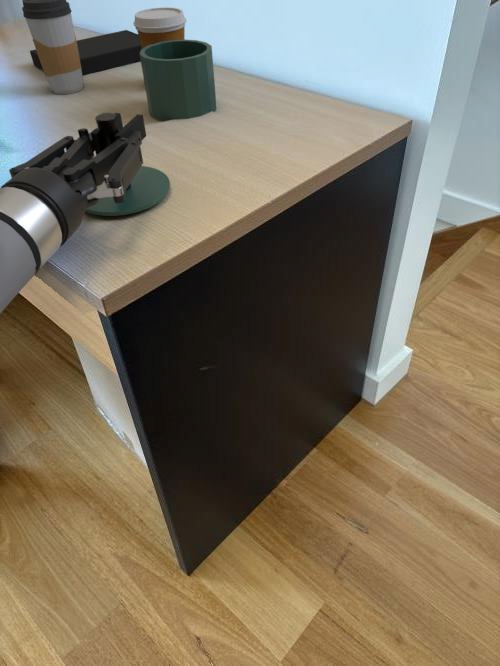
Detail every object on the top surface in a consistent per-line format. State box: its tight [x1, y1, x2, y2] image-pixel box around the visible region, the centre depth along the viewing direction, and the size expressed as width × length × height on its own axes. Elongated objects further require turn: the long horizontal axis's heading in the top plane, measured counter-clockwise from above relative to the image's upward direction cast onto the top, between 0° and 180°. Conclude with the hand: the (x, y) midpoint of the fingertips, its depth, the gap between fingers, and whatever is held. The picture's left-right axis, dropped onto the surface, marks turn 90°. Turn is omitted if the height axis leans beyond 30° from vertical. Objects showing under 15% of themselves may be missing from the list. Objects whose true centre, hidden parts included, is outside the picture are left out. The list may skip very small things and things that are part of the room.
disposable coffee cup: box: [132, 6, 187, 49], centre depth 95 cm, size 10×10×12 cm
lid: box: [85, 112, 171, 217], centre depth 63 cm, size 12×12×10 cm
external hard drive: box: [29, 29, 142, 76], centre depth 111 cm, size 14×23×3 cm, turn 127°
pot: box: [140, 39, 217, 122], centre depth 86 cm, size 12×12×10 cm
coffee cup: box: [21, 0, 85, 95], centre depth 94 cm, size 8×8×15 cm
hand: (130, 124), depth 66 cm, fingers closed on lid, 2 cm apart
